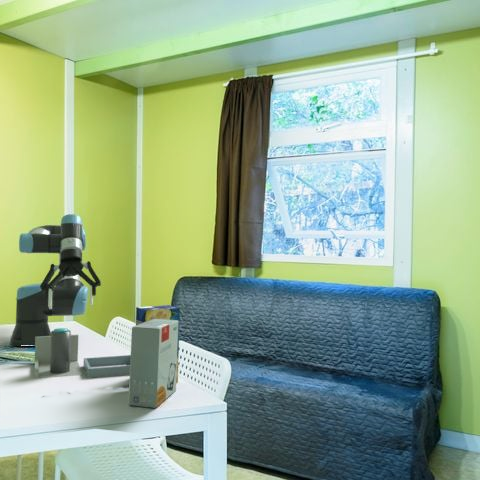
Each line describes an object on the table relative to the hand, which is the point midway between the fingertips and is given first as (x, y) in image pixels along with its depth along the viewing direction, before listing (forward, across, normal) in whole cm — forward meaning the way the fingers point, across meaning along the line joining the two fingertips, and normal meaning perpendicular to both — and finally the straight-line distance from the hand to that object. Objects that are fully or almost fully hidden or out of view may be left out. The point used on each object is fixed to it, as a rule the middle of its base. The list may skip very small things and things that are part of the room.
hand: (70, 305), depth 166 cm
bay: (+25, -3, -6) cm, 26 cm away
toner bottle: (+25, -2, -9) cm, 27 cm away
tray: (+28, +13, -8) cm, 32 cm away
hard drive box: (+42, +25, -28) cm, 56 cm away
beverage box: (+34, +26, -15) cm, 46 cm away
